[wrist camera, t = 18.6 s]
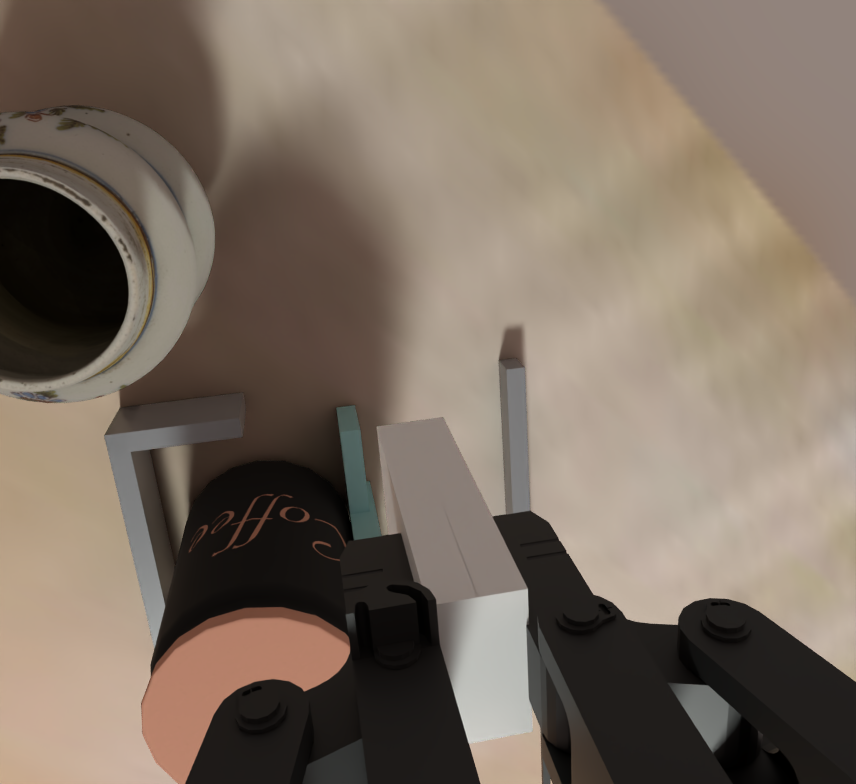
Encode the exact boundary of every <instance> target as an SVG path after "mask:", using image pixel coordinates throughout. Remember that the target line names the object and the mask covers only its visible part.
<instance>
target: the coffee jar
mask: <svg viewBox="0 0 856 784" xmlns="http://www.w3.org/2000/svg"><path fill="white" fill-rule="evenodd" d="M348 541H353V535H352V528H351V522H350V519H349V516H348V512H347V509H346V506H345V503H344V501H343V499H342V498H341V497H340V495H339V494H338V493H337V491H336V490H335V489H334V487H333V486H332V485H331V483H330V482H328V481H327V480H325V479H324V478H322V477H321V476H319V475H318V474H316V473H315V472H313V471H312V470H311V469H309V468H306V467H303V466H299V465H296V464H293V463H289V462H286V461H255V462H252V463H248V464H245V465H241V466H238V467H234V468H232V469H230V470H228V471H227V472H225V473H224V474H222V475H221V476H219V477H217V478H216V479H214V480H213V481H211V482H210V483H209V484H208V485H207V486H206V488H205V489H204V490H203V491H202V492H201V494H200V495H199V496H198V497H197V499H196V500H195V501H194V503H193V506H192V509H191V511H190V514H189V517H188V520H187V522H186V526H185V530H184V534H183V538H182V542H181V546H180V550H179V554H178V558H177V562H176V566H175V570H174V573H173V577H172V581H171V585H170V589H169V593H168V597H167V601H166V605H165V609H164V613H163V617H162V621H161V625H160V629H159V633H158V637H157V641H156V645H155V649H154V653H153V657H152V661H151V678H150V681H149V684H148V686H147V689H146V692H145V695H144V697H143V700H142V703H141V709H142V734H143V736H144V738H145V741H146V743H147V745H148V747H149V749H150V751H151V753H152V755H153V758H154V760H155V762H156V763H157V764H158V765H159V766H160V767H161V768H162V769H163V770H164V771H165V772H166V773H168V774H169V775H170V776H171V777H172V778H173V779H174V780H175V781H176V782H177V783H178V784H185V783H186V780H187V778H188V775H189V773H190V771H191V768H192V766H193V763H194V761H195V759H196V756H197V754H198V751H199V749H200V747H201V744H202V742H203V739H204V737H205V735H206V732H207V730H208V727H209V725H210V723H211V720H212V718H213V715H214V713H215V712H216V710H217V709H218V707H219V706H220V704H221V703H222V701H223V700H224V699H225V698H227V697H228V696H229V695H231V694H232V693H233V692H234V691H236V690H237V689H239V688H241V687H244V686H246V685H248V684H251V683H253V682H256V681H263V680H269V679H277V680H284V681H290V682H292V683H293V684H295V685H297V686H299V687H301V688H302V689H303V691H307V690H309V689H311V688H313V687H316V686H318V685H320V684H321V683H323V682H325V681H327V680H329V679H330V678H331V677H332V676H334V675H335V674H336V673H337V672H339V670H340V669H341V668H342V667H343V665H344V664H345V663H346V661H347V658H348V656H349V654H350V642H349V635H348V628H347V620H346V606H345V598H344V590H343V582H342V574H341V566H340V556H341V554H342V552H343V551H344V549H345V547H346V545H347V543H348Z"/></svg>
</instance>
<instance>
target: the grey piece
mask: <svg viewBox="0 0 856 784" xmlns="http://www.w3.org/2000/svg"><path fill="white" fill-rule="evenodd" d="M499 376H500V397H501V418H502V439H503V460H504V481H505V502H506V514H512V513H518V512H525V511H530V495H529V467H528V439H527V411H526V383H525V367H524V366H523V365H522V364H521V363H520V361H519V360H518V359H517V358H514V359H506V360H499ZM245 416H246V405H245V399H244V393H243V392H242V393H234V394H226V395H218V396H210V397H202V398H194V399H186V400H178V401H170V402H162V403H154V404H146V405H138V406H130V407H122V408H120V409H119V410H118V412H117V414H116V416H115V417H114V419H113V421H112V423H111V424H110V426H109V428H108V430H107V431H106V433H105V435H104V437H105V441H106V445H107V450H108V454H109V458H110V462H111V466H112V471H113V475H114V479H115V483H116V488H117V492H118V496H119V500H120V505H121V509H122V513H123V517H124V522H125V526H126V530H127V534H128V539H129V543H130V547H131V551H132V555H133V560H134V564H135V568H136V572H137V577H138V581H139V585H140V589H141V594H142V598H143V602H144V606H145V611H146V615H147V619H148V623H149V627H150V632H151V636H152V640H153V644H154V649H155V645H156V641H157V637H158V633H159V629H160V625H161V621H162V617H163V613H164V609H165V605H166V601H167V597H168V593H169V589H170V585H171V581H172V577H173V573H174V570H175V564H174V560H173V555H172V551H171V546H170V541H169V537H168V532H167V527H166V523H165V518H164V514H163V509H162V504H161V500H160V495H159V490H158V486H157V481H156V476H155V472H154V467H153V463H152V458H151V453H150V449H157V448H164V447H172V446H179V445H187V444H195V443H202V442H210V441H217V440H225V439H232V438H240V437H243V430H244V423H245Z"/></svg>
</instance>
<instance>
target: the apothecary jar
mask: <svg viewBox="0 0 856 784" xmlns="http://www.w3.org/2000/svg"><path fill="white" fill-rule="evenodd" d="M214 250H215V228H214V221H213V215H212V211H211V207H210V204H209V201H208V198H207V195H206V193H205V191H204V189H203V186H202V184H201V182H200V181H199V179H198V177H197V175H196V174H195V172H194V171H193V169H192V168H191V166H190V165H189V163H188V162H187V161H186V160H185V158H184V157H183V156H182V155H181V154H180V153H179V152H178V151H177V150H176V148H174V147H173V146H172V145H171V144H170V143H169V142H168V141H167V140H166V139H164V138H163V137H162V136H161V135H159V134H158V133H156V132H155V131H154V130H152V129H151V128H149V127H147V126H146V125H144V124H142V123H140V122H138V121H136V120H134V119H132V118H130V117H127V116H125V115H122V114H120V113H117V112H114V111H111V110H107V109H102V108H97V107H89V106H77V105H72V106H60V107H53V108H47V109H43V110H39V111H35V112H4V113H0V394H3V395H6V396H9V397H13V398H17V399H22V400H27V401H34V402H44V403H68V402H78V401H85V400H90V399H95V398H98V397H102V396H105V395H108V394H110V393H113V392H116V391H118V390H120V389H122V388H124V387H126V386H128V385H130V384H132V383H134V382H135V381H137V380H138V379H140V378H141V377H143V376H144V375H146V374H147V373H148V372H150V371H151V370H152V369H153V368H154V367H156V366H157V365H158V364H159V363H160V362H161V361H162V360H163V359H164V357H165V356H166V355H167V354H168V353H169V351H170V350H171V349H172V348H173V346H174V345H175V343H176V342H177V340H178V339H179V337H180V335H181V333H182V332H183V330H184V328H185V326H186V324H187V321H188V319H189V316H190V313H191V310H192V307H193V305H194V304H195V302H196V301H197V299H198V298H199V296H200V295H201V293H202V291H203V289H204V287H205V285H206V282H207V280H208V277H209V274H210V271H211V267H212V262H213V257H214Z"/></svg>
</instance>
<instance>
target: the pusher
mask: <svg viewBox="0 0 856 784" xmlns="http://www.w3.org/2000/svg"><path fill="white" fill-rule="evenodd" d="M336 410H337V418H338V426H339V434H340V442H341V450H342V458H343V466H344V474H345V482H346V490H347V498H348V506H349V514H350V522H351V528H352V535H353V540H359V539H365V538H372V537H378V536H382V535H381V531H380V526H379V522H378V517H377V512H376V508H375V503H374V499H373V494H372V489H371V485H370V481H366V475H365V466H364V458H363V449H362V440H361V431H360V426H359V422H358V417H357V413H356V408H355V405H352V406H345V407H337V408H336Z"/></svg>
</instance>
